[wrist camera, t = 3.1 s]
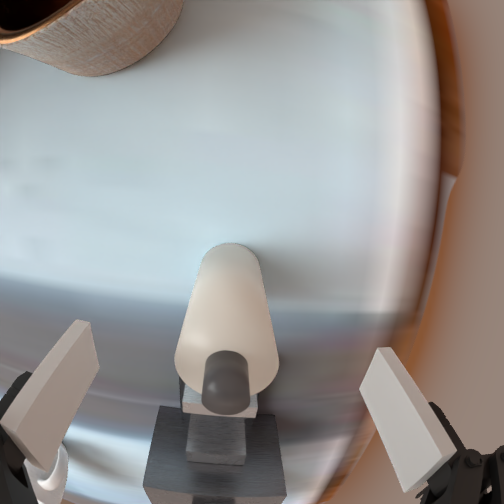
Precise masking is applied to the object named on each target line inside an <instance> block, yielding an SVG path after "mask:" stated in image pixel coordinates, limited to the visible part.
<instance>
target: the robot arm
mask: <svg viewBox="0 0 504 504" xmlns="http://www.w3.org/2000/svg"><path fill="white" fill-rule="evenodd" d="M99 368H100V367H99V363H98V359H97V355H96V350H95V346H94V341H93V336H92V331H91V325H90V322H86V321H82V320H77V319H76V320H75V321H74V322H73V324H72V325H71V326H70V327H69V328H68V330H67V331H66V332H65V333H64V334H63V336H62V337H61V338H60V339H59V341H58V342H57V343H56V344H55V345H54V347H53V348H52V349H51V351H50V352H49V353H48V354H47V356H46V357H45V358H44V359H43V361H42V362H41V363H40V365H39V366H38V367H37V369H36V370H35V371H34V373H33V374H32V373H30V372H28V371H26V372H25V373H23V374H22V375H20V376H19V377H17V379H16V380H15V381H14V383H13V384H12V385H11V387H10V388H9V390H8V391H7V394H5V395H4V396H3V398H2V399H1V401H0V504H39V503H38V501H37V498H36V495H35V493H34V490H33V487H32V484H31V481H30V478H29V475H28V472H27V469H26V466H25V464H24V461H25V459H27V460H28V461H29V462H30V463H31V465H32V466H34V467H36V468H38V469H40V470H42V471H44V472H46V473H48V472H49V470H50V467H51V465H52V463H53V460H54V458H55V456H56V453H57V451H58V449H59V447H60V445H61V443H62V440H63V438H64V436H65V434H66V432H67V430H68V428H69V426H70V424H71V422H72V420H73V418H74V416H75V414H76V412H77V410H78V408H79V406H80V404H81V402H82V400H83V398H84V396H85V394H86V392H87V390H88V388H89V387H90V385H91V383H92V381H93V379H94V377H95V375H96V374H97V372H98V370H99ZM359 390H360V392H361V394H362V397H363V399H364V401H365V403H366V405H367V408H368V410H369V412H370V414H371V416H372V419H373V421H374V423H375V425H376V428H377V430H378V432H379V434H380V437H381V439H382V441H383V444H384V446H385V448H386V451H387V453H388V455H389V458H390V460H391V462H392V465H393V467H394V470H395V472H396V474H397V477H398V479H399V482H400V484H401V487H402V489H403V492H404V493H405V492H408V491H411V490H414V489H416V488H418V487H420V486H421V485H422V484H423V483H424V482H426V481H427V482H428V484H429V485H428V486H427V487H426V488H424V489H423V490H422V491H421V492H420V493H418V494H417V496H416V498H419V497H420V496H421V495H422V494H423V497H422V498H421V502H420V504H504V445H503V446H500V447H499V448H498V449H497V450H496V451H495V452H494V453H493V454H486V455H481V454H480V453H479V452H478V451H476V450H474V449H468V450H467V449H466V448H465V447H464V445H463V443H462V442H461V440H460V438H459V437H458V435H457V434H456V432H455V430H454V429H453V427H452V426H451V425H450V423H449V421H448V420H447V419H446V416H445V415H444V413H443V412H442V410H441V409H440V408H439V407H438V406H437V405H436V404H434V403H433V402H429V403H428V402H427V401H426V399H425V398H424V396H423V394H422V393H421V391H420V390H419V388H418V387H417V385H416V384H415V382H414V381H413V379H412V378H411V376H410V375H409V373H408V372H407V370H406V369H405V367H404V366H403V364H402V363H401V362H400V360H399V359H398V357H397V356H396V354H395V353H394V351H393V350H392V349H391V347H382V348H377V350H376V352H375V355H374V357H373V359H372V362H371V364H370V366H369V369H368V371H367V373H366V375H365V377H364V380H363V382H362V384H361V386H360V388H359ZM489 486H492V491H491V492H489V493H487V488H488V487H489Z"/></svg>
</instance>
